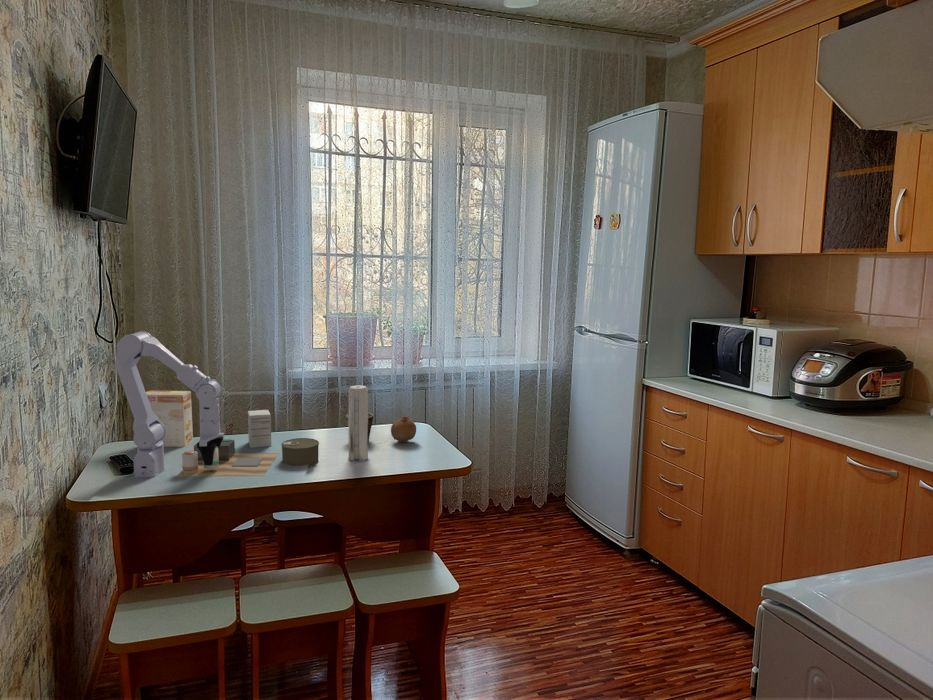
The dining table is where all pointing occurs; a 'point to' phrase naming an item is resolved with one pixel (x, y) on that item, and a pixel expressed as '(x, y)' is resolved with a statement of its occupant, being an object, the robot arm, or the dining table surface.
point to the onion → (403, 429)
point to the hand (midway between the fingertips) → (211, 462)
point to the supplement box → (259, 428)
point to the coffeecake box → (173, 415)
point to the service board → (229, 470)
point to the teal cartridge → (215, 461)
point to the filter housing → (221, 450)
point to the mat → (247, 462)
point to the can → (300, 452)
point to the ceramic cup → (370, 420)
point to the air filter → (358, 422)
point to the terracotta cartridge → (190, 462)
